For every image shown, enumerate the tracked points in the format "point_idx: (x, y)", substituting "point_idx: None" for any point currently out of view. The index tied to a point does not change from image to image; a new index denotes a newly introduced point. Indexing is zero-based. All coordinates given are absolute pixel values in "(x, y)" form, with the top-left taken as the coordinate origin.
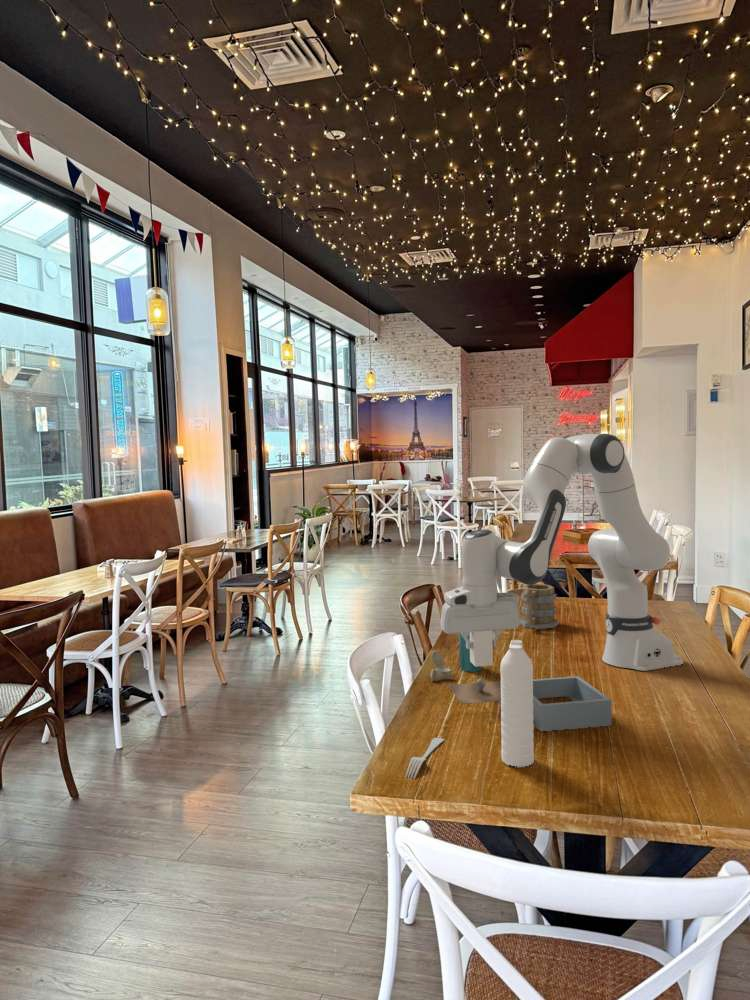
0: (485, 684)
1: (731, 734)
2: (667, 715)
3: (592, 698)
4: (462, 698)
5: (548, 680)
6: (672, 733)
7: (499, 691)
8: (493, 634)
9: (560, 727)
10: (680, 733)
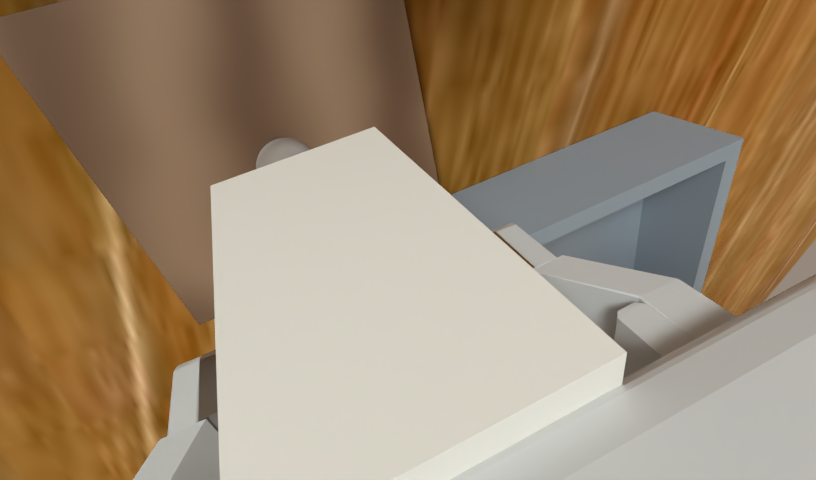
0: (302, 3)
1: (780, 272)
2: (764, 202)
3: (668, 258)
4: (186, 263)
5: (619, 206)
6: (705, 295)
7: (383, 130)
8: (592, 293)
9: None
10: (716, 291)
